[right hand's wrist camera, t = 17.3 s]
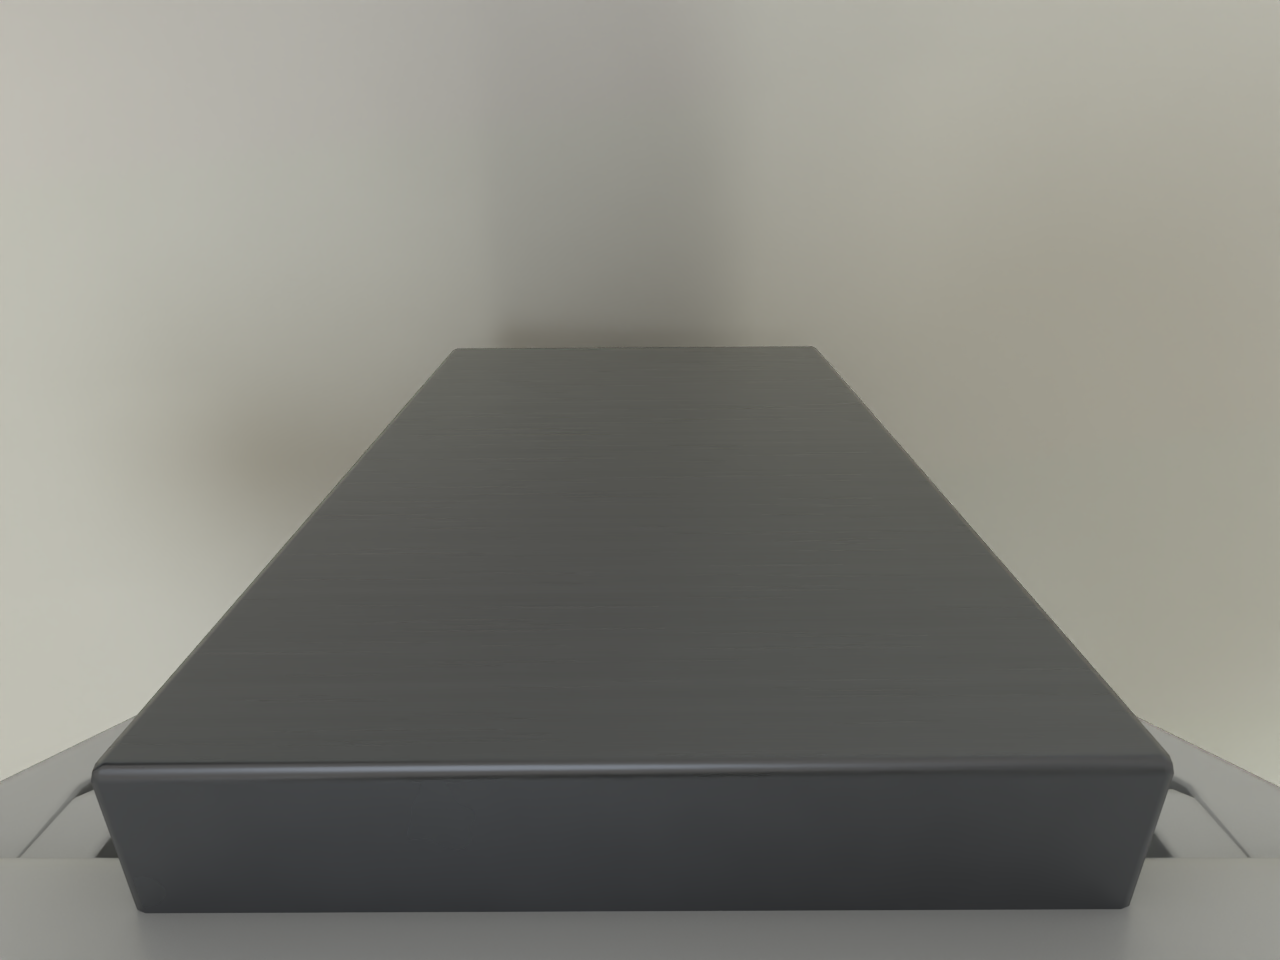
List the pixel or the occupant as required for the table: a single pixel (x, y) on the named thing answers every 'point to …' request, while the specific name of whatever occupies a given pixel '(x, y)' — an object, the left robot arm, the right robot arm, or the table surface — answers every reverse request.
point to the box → (633, 673)
